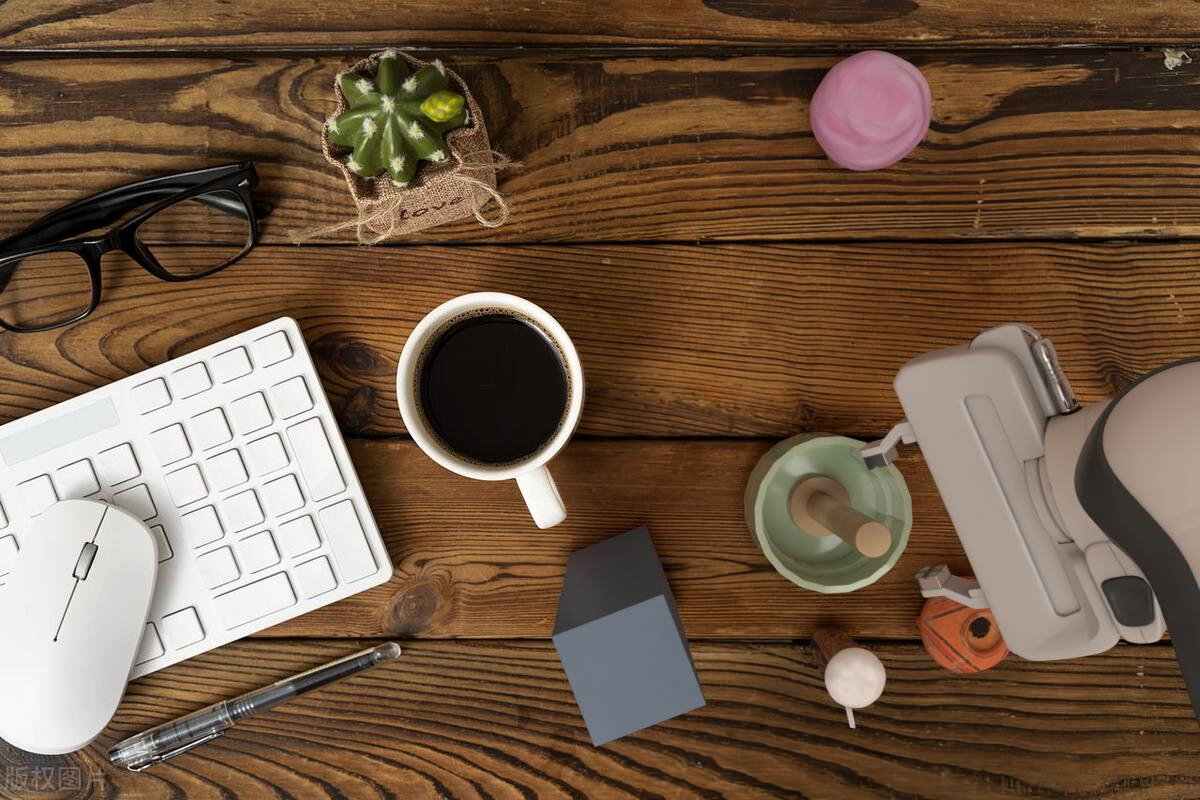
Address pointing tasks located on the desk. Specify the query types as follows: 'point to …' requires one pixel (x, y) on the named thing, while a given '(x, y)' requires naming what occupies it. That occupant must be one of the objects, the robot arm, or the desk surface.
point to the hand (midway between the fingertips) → (894, 519)
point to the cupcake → (870, 111)
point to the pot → (961, 635)
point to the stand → (623, 638)
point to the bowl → (830, 557)
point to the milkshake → (847, 669)
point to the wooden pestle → (835, 515)
